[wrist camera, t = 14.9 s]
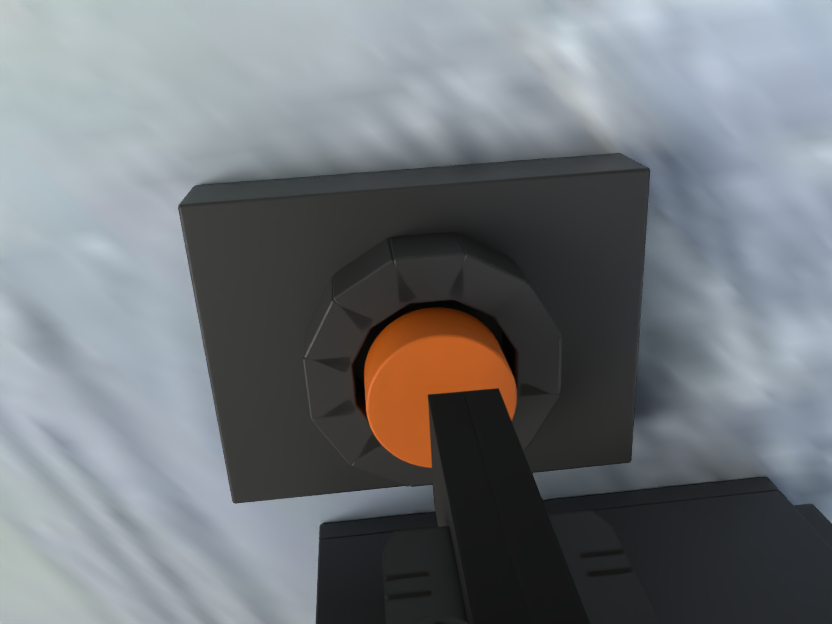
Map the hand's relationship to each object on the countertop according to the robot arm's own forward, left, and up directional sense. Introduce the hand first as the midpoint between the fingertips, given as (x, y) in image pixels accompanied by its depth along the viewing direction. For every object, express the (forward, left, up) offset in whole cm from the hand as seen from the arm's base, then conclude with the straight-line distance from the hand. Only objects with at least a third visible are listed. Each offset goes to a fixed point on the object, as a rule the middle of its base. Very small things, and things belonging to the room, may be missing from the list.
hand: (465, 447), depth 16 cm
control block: (0, 0, -7) cm, 7 cm away
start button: (0, 0, -4) cm, 4 cm away
